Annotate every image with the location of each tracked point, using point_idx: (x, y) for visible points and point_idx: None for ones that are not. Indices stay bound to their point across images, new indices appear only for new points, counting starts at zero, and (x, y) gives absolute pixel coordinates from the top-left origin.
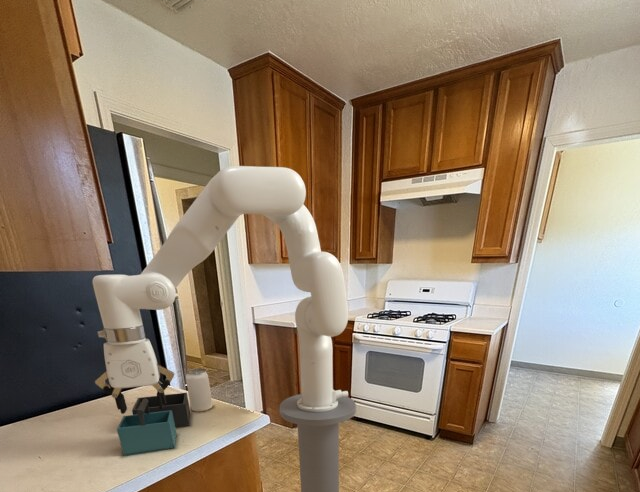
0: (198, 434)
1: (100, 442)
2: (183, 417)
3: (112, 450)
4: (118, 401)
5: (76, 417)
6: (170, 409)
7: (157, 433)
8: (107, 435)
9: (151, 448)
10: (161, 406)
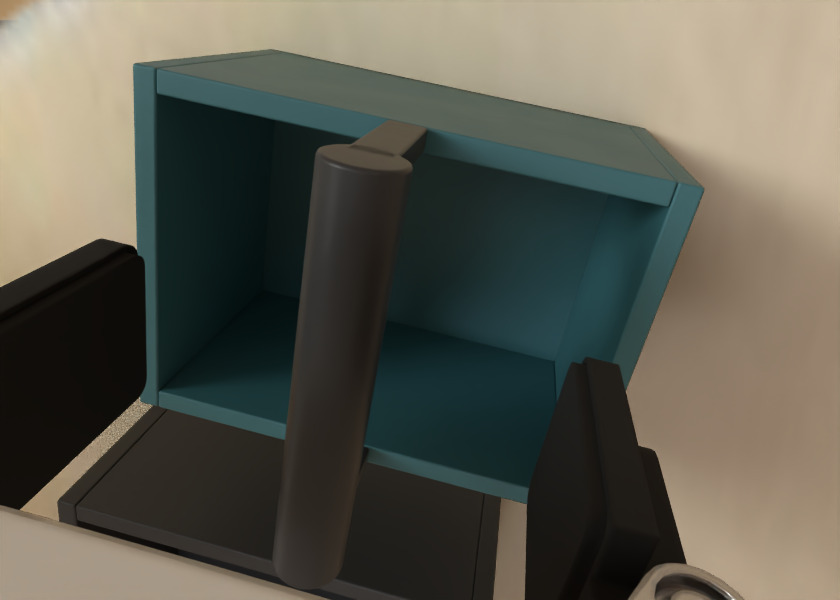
0: (110, 211)
1: (755, 465)
2: (161, 431)
3: (705, 285)
4: (640, 484)
5: None
6: (199, 509)
7: (319, 83)
8: (690, 544)
9: (430, 87)
10: (92, 248)
